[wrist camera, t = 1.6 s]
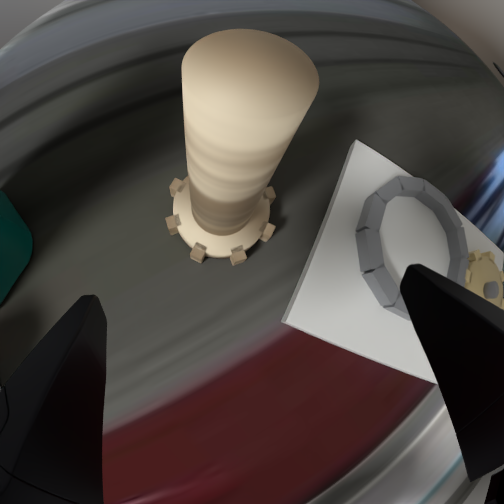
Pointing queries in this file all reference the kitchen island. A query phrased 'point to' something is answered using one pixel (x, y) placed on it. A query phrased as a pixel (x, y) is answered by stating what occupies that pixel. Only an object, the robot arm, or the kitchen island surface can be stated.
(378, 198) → the gear board
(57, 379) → the robot arm
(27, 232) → the pitcher
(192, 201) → the disc
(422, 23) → the kitchen island surface
